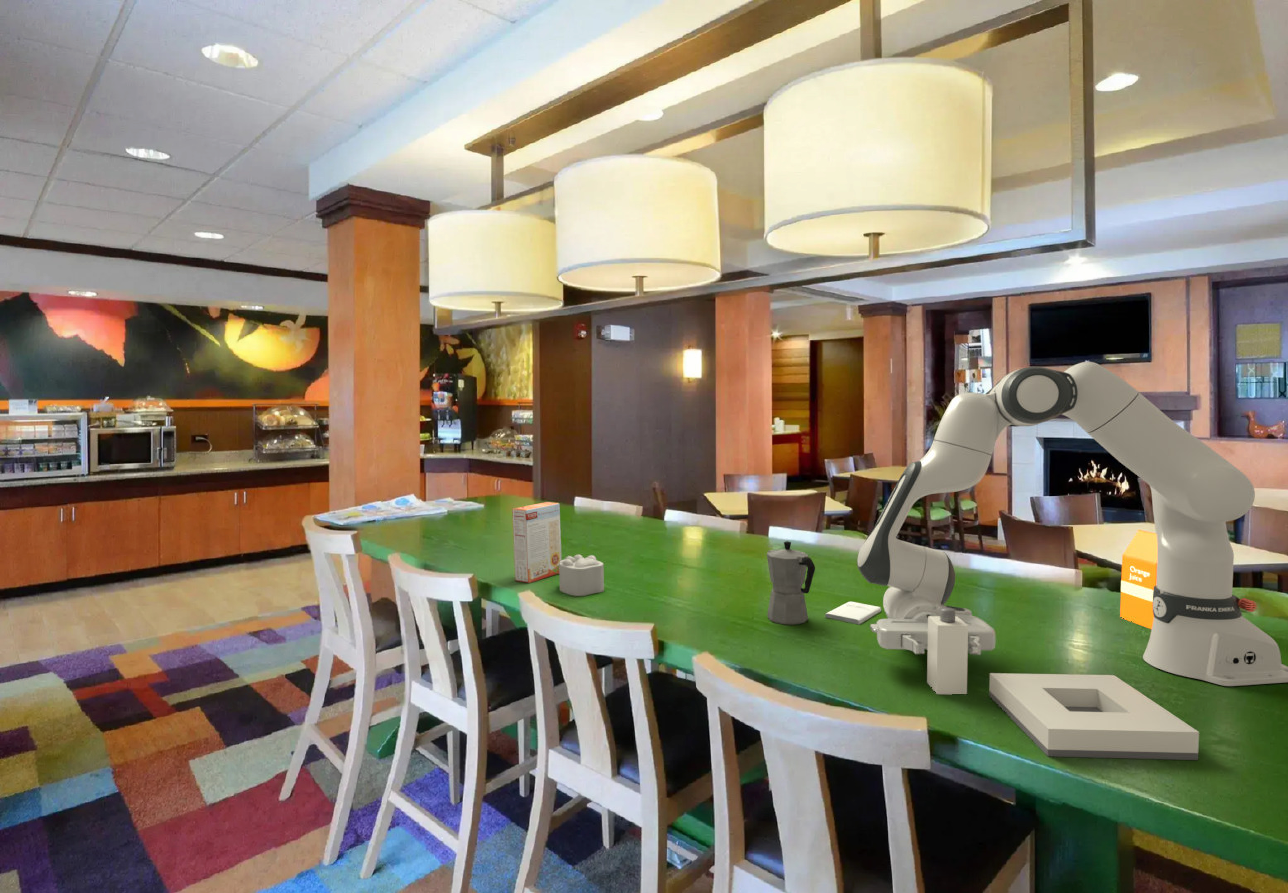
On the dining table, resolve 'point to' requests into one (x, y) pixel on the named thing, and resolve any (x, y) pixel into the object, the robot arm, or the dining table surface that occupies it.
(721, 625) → the dining table surface
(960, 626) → the plug
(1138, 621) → the orange juice
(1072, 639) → the dining table surface
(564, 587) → the lumpy-topped squat cylinder
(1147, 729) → the socket block
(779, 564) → the coffeepot
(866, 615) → the external hard drive
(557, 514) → the cracker box
